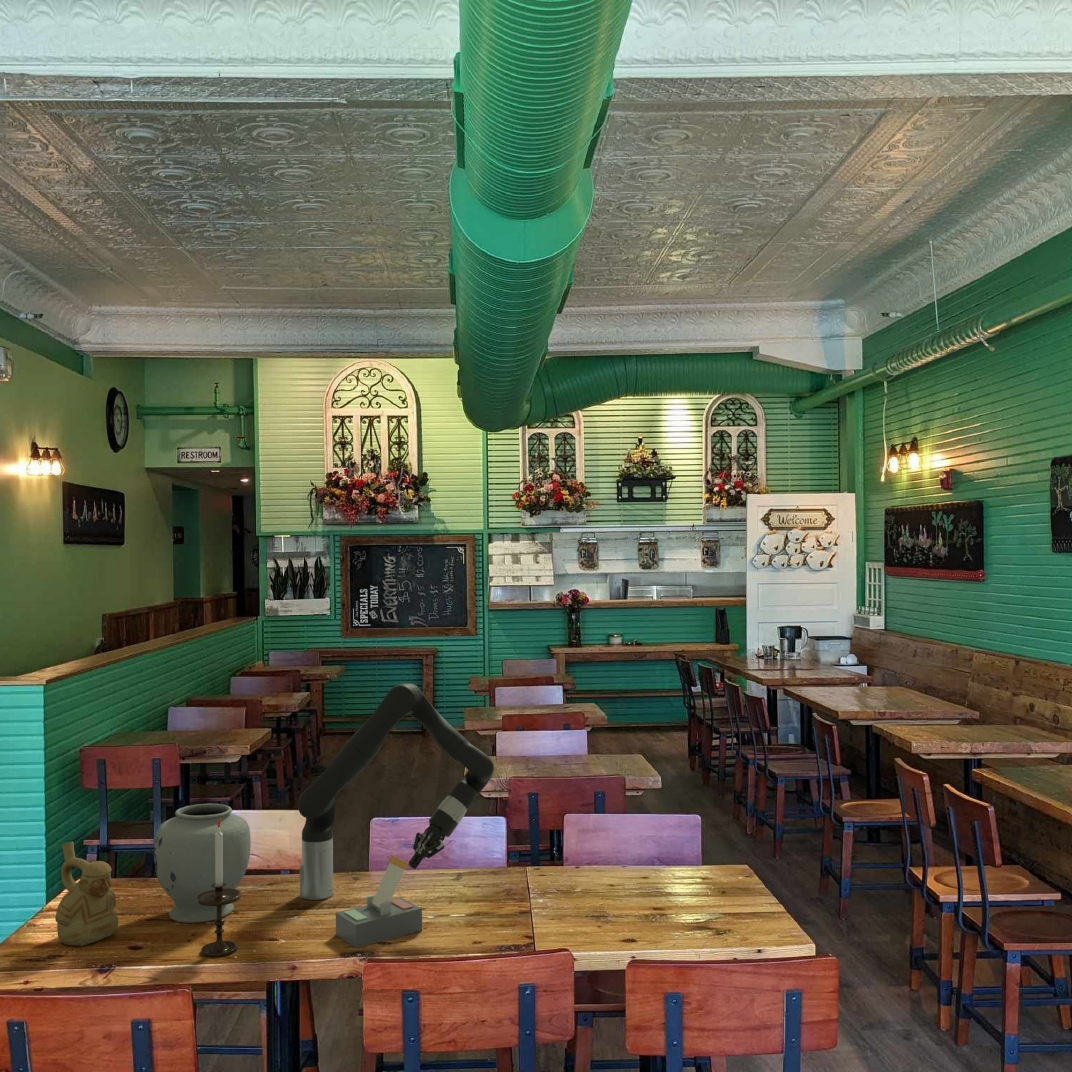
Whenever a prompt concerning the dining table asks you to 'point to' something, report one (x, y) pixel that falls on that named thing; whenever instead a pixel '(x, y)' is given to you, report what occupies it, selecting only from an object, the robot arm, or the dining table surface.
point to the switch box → (378, 922)
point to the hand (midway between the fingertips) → (411, 866)
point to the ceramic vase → (199, 857)
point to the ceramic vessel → (85, 901)
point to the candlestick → (219, 903)
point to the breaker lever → (389, 881)
